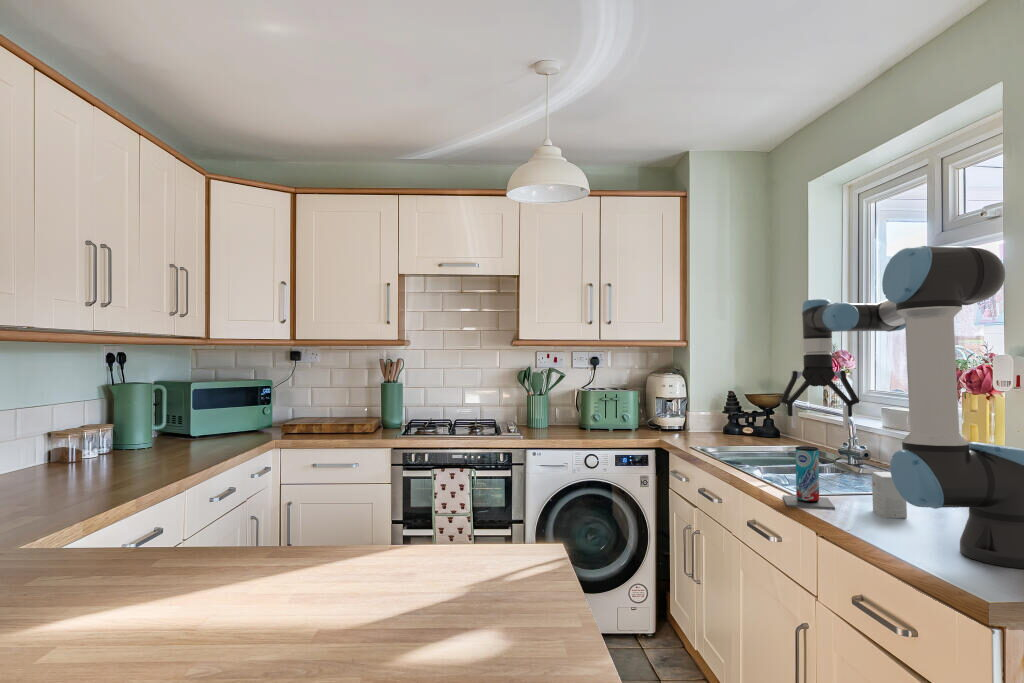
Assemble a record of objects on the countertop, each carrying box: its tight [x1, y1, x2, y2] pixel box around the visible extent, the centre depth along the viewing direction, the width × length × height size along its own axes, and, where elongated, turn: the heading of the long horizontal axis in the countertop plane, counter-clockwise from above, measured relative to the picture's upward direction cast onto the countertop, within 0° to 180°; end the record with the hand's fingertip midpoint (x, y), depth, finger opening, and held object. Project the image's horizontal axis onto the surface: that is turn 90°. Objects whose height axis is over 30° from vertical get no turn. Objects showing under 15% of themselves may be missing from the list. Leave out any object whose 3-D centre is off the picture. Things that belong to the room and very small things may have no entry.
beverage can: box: [795, 445, 820, 503], centre depth 181 cm, size 6×6×15 cm
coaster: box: [782, 494, 836, 510], centre depth 181 cm, size 12×12×1 cm
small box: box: [871, 471, 908, 519], centre depth 167 cm, size 8×6×10 cm
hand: (819, 428), depth 182 cm, fingers open, 13 cm apart
